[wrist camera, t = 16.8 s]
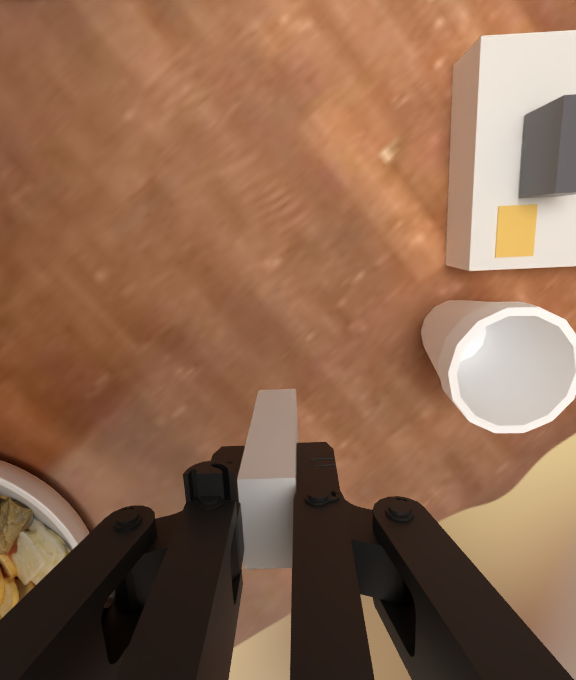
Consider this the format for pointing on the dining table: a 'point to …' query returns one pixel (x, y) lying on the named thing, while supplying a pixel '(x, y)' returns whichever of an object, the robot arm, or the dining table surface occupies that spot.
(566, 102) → the knob
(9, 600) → the bowl
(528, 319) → the foam cup
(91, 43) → the dining table surface
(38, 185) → the dining table surface
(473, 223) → the switch panel
